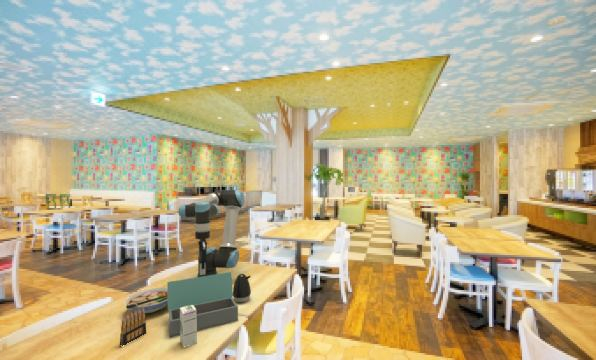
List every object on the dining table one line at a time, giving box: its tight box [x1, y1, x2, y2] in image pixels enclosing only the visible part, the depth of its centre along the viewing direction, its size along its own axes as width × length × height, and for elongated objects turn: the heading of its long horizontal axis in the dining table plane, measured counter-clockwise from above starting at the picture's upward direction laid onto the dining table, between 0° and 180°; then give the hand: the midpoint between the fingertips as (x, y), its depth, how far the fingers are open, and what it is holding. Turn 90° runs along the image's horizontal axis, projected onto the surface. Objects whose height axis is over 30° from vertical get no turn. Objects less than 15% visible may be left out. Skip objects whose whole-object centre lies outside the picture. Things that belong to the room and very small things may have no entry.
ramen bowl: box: [125, 287, 168, 314], centre depth 142 cm, size 25×23×8 cm
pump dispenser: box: [232, 273, 252, 303], centre depth 153 cm, size 10×10×15 cm
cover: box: [166, 271, 234, 311], centre depth 137 cm, size 13×31×2 cm
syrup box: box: [179, 305, 198, 348], centre depth 113 cm, size 6×6×14 cm
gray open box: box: [168, 297, 239, 338], centre depth 129 cm, size 12×30×7 cm, turn 118°
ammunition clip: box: [119, 308, 147, 346], centre depth 116 cm, size 11×2×12 cm, turn 157°
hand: (202, 274), depth 145 cm, fingers closed
